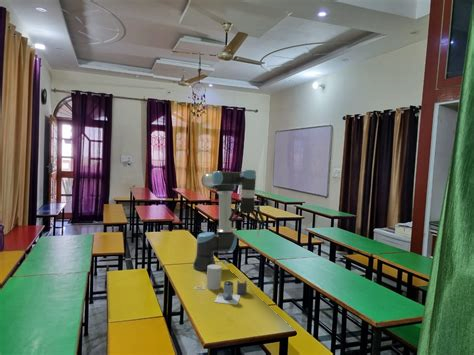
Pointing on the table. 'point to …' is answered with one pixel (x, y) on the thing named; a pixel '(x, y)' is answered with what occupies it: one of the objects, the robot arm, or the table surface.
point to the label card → (199, 288)
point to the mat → (220, 300)
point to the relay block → (241, 287)
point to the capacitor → (228, 290)
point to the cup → (214, 277)
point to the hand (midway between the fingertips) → (245, 234)
